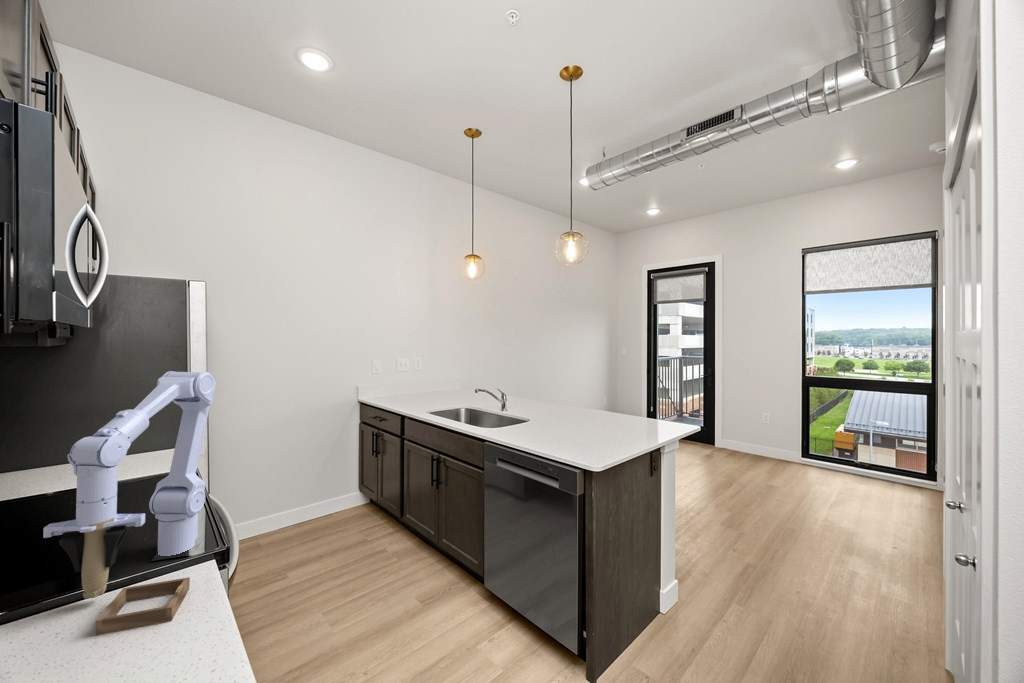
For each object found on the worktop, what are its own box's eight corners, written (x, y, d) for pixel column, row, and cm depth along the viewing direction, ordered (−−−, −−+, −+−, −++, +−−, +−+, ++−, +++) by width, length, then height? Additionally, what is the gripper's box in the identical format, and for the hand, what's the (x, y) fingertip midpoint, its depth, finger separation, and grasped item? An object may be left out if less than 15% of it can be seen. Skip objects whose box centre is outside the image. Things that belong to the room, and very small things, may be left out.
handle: (85, 606, 79) (87, 526, 79) (70, 596, 82) (72, 519, 82) (118, 593, 83) (120, 517, 83) (103, 584, 86) (105, 510, 86)
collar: (122, 600, 84) (123, 585, 84) (189, 589, 88) (189, 574, 88) (95, 635, 74) (95, 617, 74) (171, 620, 78) (172, 604, 78)
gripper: (33, 510, 76) (31, 585, 76) (135, 500, 82) (134, 570, 82) (56, 496, 82) (54, 566, 82) (149, 488, 88) (148, 553, 88)
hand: (95, 567), depth 83 cm, fingers closed on handle, 4 cm apart
